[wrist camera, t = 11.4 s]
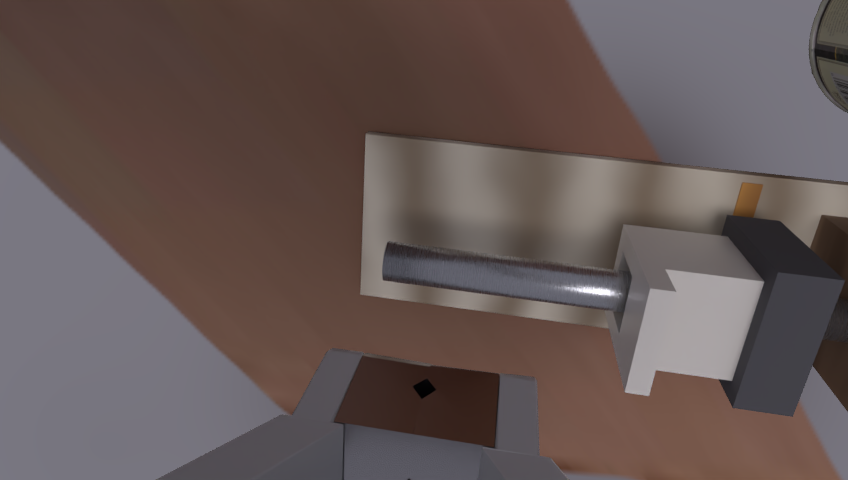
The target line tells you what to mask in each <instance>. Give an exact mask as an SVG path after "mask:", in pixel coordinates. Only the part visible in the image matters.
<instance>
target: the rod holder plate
mask: <svg viewBox="0 0 848 480" xmlns="http://www.w3.org/2000/svg"><path fill="white" fill-rule="evenodd" d="M727 215H733V216H742V217H751V218H760V219H768V220H777V221H781V222H782V223H783V224H784V225H785V226H786V227H787V228H788V229H789V230H790V231H792V232H793V233H794V234H795V235H796V236H797V237H798V238H799V239H800V240H801V241H802V242H804V243H805V244H806V245H807V246H808V247H809V248H810V249H811V250H812V251H813V252H814V253H816V254H817V255H818V256H819V257H820V258H821V259H822V260H823V261H824V262H825V263H826V264H828V265H829V266H830V267H831V268H832V269H833V270H834V271H835V272H836V273H837V274H838V275H840V276H841V277H842V278H843V279H844V280H845V282H844V285H843V287H842V290H841V292H840V295H839V298H845V299H848V182H841V181H831V180H822V179H812V178H803V177H794V176H784V175H774V174H765V173H756V172H747V171H737V170H728V169H718V168H709V167H699V166H690V165H680V164H671V163H662V162H652V161H643V160H633V159H624V158H614V157H605V156H595V155H586V154H577V153H567V152H558V151H548V150H539V149H529V148H520V147H511V146H501V145H492V144H482V143H473V142H463V141H454V140H444V139H435V138H426V137H416V136H407V135H397V134H388V133H378V132H369V131H368V132H367V133H366V138H365V169H364V200H363V230H362V261H361V292H360V294H361V295H368V296H375V297H383V298H390V299H397V300H404V301H412V302H419V303H426V304H434V305H441V306H448V307H455V308H463V309H470V310H477V311H485V312H492V313H499V314H507V315H514V316H521V317H528V318H536V319H543V320H550V321H558V322H565V323H572V324H580V325H587V326H594V327H601V328H609V327H608V322H607V318H606V314H605V310H599V309H592V308H584V307H577V306H569V305H562V304H554V303H547V302H539V301H532V300H524V299H517V298H509V297H502V296H495V295H487V294H480V293H472V292H465V291H457V290H450V289H442V288H435V287H427V286H420V285H412V284H405V283H397V282H390V281H383V278H382V265H383V257H384V252H385V248H386V245H387V242H388V241H393V242H401V243H409V244H417V245H425V246H433V247H441V248H449V249H457V250H465V251H473V252H481V253H488V254H496V255H504V256H512V257H520V258H528V259H536V260H544V261H552V262H560V263H568V264H576V265H584V266H591V267H599V268H607V269H614V266H615V261H616V257H617V252H618V247H619V243H620V238H621V233H622V229H623V224H626V225H635V226H643V227H652V228H660V229H669V230H677V231H686V232H694V233H703V234H711V235H720V236H721V234H722V231H723V227H724V224H725V220H726V217H727ZM813 367H814V368H815V369H816V371H817V372H818V373H819V374H820V376H821V377H822V378H823V380H824V381H825V382H826V384H827V385H828V386H829V387H830V389H831V390H832V392H833V393H834V394H835V395H836V397H837V398H838V399H839V401H840V402H841V403H842V405H843V406H844V407H845V409H846V410H847V411H848V343H846V342H838V341H831V340H823V339H822V342H821V344H820V347H819V349H818V352H817V355H816V357H815V360H814V362H813Z"/></svg>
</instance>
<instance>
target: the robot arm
mask: <svg viewBox="0 0 848 480" xmlns="http://www.w3.org/2000/svg"><path fill="white" fill-rule="evenodd" d="M156 480H569V479H568V478H567V476H566V475H565V474H564V473H563V472H562V471H561V470H560V468H559V467H558V466H557V465H556V464H555V463H554V461H553V460H552V459H551V458H548V457H542V456H539V427H538V398H537V380H536V379H535V378H534V377H530V376H521V375H512V374H503V373H500V375H499V374H498V373H490V372H482V371H475V370H467V369H459V368H451V367H444V366H436V365H432V364H429V363H423V362H417V361H411V360H405V359H399V358H393V357H387V356H381V355H375V354H369V353H365V354H364V353H363V352H357V351H350V350H343V349H336V348H332V349H330V350H329V351H327V352H326V354H325V356H324V358H323V360H322V361H321V363H320V365H319V367H318V369H317V370H316V372H315V374H314V376H313V378H312V380H311V381H310V383H309V385H308V387H307V389H306V390H305V392H304V394H303V396H302V398H301V400H300V401H299V403H298V405H297V407H296V409H295V410H294V412H293V414H292V416H288V415H279V416H278V417H276V418H274V419H272V420H270V421H268V422H266V423H264V424H262V425H260V426H258V427H256V428H254V429H253V430H251V431H249V432H247V433H245V434H243V435H241V436H239V437H237V438H235V439H233V440H231V441H230V442H228V443H226V444H224V445H222V446H220V447H218V448H216V449H215V450H212V451H210V452H208V453H206V454H205V455H203V456H201V457H199V458H197V459H195V460H193V461H191V462H189V463H187V464H185V465H183V466H181V467H179V468H178V469H176V470H174V471H172V472H170V473H168V474H166V475H164V476H162V477H160V478H159V479H156Z"/></svg>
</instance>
